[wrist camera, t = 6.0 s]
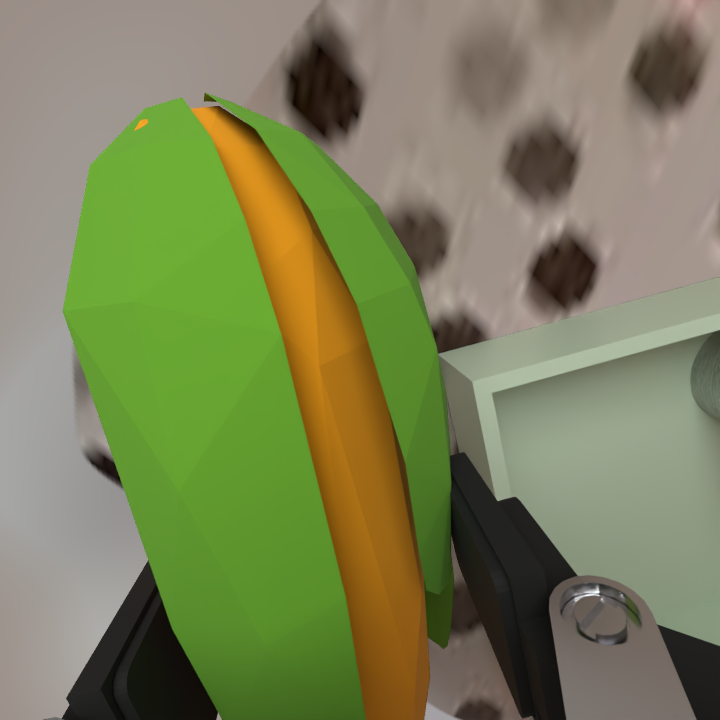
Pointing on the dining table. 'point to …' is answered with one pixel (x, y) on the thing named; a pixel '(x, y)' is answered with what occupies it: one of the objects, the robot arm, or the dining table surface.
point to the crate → (607, 444)
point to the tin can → (707, 376)
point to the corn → (269, 412)
